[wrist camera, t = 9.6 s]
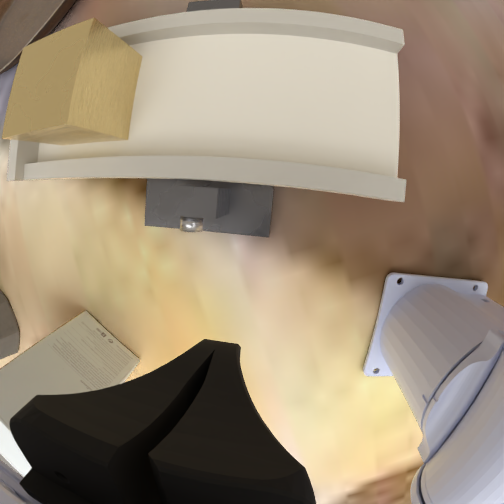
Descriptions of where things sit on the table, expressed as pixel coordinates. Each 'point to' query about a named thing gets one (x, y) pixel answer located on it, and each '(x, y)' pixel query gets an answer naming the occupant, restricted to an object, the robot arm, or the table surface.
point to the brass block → (74, 88)
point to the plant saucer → (26, 25)
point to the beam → (250, 105)
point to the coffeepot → (8, 329)
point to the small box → (60, 373)
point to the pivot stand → (209, 192)
